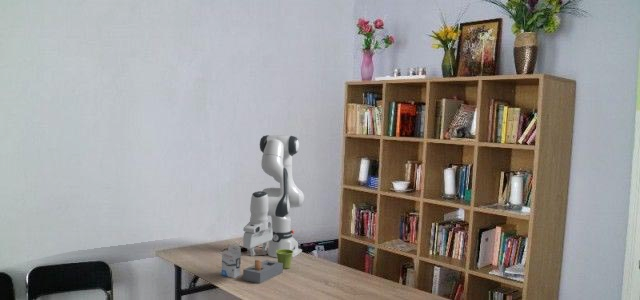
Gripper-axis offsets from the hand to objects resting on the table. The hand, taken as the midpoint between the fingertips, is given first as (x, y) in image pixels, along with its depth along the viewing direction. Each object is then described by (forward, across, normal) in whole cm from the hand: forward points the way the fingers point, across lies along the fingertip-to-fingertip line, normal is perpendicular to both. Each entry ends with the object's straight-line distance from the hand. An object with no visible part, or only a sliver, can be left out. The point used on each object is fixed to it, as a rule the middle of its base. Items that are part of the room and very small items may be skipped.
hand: (258, 253), depth 231 cm
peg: (+13, +1, 0) cm, 13 cm away
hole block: (+13, -4, 0) cm, 13 cm away
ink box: (+13, +4, -14) cm, 19 cm away
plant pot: (+14, -22, +1) cm, 26 cm away
